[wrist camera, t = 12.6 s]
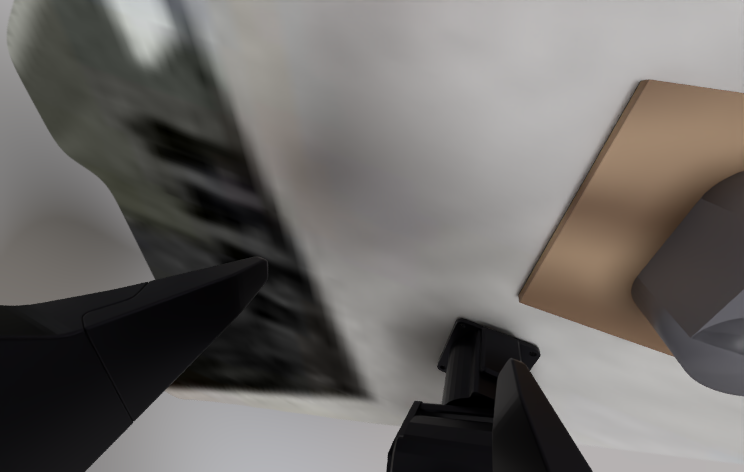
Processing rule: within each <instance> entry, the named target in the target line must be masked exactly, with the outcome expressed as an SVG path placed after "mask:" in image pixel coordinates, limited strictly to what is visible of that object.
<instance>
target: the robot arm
mask: <svg viewBox="0 0 744 472" xmlns="http://www.w3.org/2000/svg"><path fill="white" fill-rule="evenodd" d="M267 279H268V263H267V260H265V259H263V258H261V257H252V258H247V259H243V260H239V261H235V262H230V263H226V264H222V265H218V266H213V267H209V268H205V269H200V270H196V271H192V272H188V273H183V274H179V275H175V276H170V277H166V278H162V279H158V280H153V281H150V282H149V283H148V282H145V283H141V284H136V285H132V286H127V287H123V288H118V289H114V290H109V291H103V292H98V293H93V294H88V295H82V296H77V297H71V298H66V299H60V300H55V301H50V302H45V303H38V304H32V305H21V306H3V305H0V472H85V471H86V470H87V469H88V468H89V467H90V466H91V465H92V464H93V463H94V462H95V461H96V460H97V459H98V458H99V457H100V456H101V455H102V454H103V453H104V452H105V451H106V450H107V449H108V448H109V447H110V446H111V445H112V444H113V443H114V442H115V441H116V440H117V439H118V438H119V437H120V436H121V434H123V433H124V432H125V431H126V430H127V428H128V427H129V426H130V425H131V424H132V423H133V421H135V420H136V419H137V418H138V417H139V416H140V415H141V414H142V413H143V412H144V411H145V410H146V409H147V408H148V407H149V406H150V405H151V404H152V403H153V402H154V401H155V400H156V399H157V398H158V397H159V396H160V395H161V394H162V392H164V391H165V390H166V389H167V388H168V387H169V386H170V385H171V384H172V383H173V382H174V381H175V379H176V378H177V377H178V376H179V375H180V374H181V373H182V372H183V371H184V370H185V369H186V368H187V367H188V366H189V365H190V364H191V363H192V362H193V361H194V360H195V359H196V358H197V357H198V356H199V355H200V354H201V353H202V352H203V351H204V350H205V349H206V348H207V347H208V346H209V345H210V344H211V343H212V342H213V341H214V340H215V339H216V338H217V337H218V336H219V335H220V334H221V333H222V332H223V331H224V330H225V329H226V328H227V327H228V326H229V325H230V324H231V323H232V322H233V321H234V320H235V319H236V317H237V316H238V315H239V314H240V313H241V312H242V311H243V310H244V309H245V307H246V306H247V305H248V304H249V303H250V301H251V300H252V299H253V298H254V296H255V295H256V294H257V293H258V291H259V290H260V289H261V288H262V286H263V285H264V284H265V283H266V281H267ZM460 324H463V325H464V326H462V325H460ZM532 352H534V353H532ZM539 357H540V351H539V348H538V347H536V346H534V345H531V344H529V343H526V342H523V341H521V340H518V339H516V338H513V337H510V336H508V335H505V334H502V333H500V332H497V331H495V330H492V329H489V328H487V327H484V326H482V325H479V324H476V323H474V322H471V321H468V320H466V319H462V318H460V319H458V320H457V321H456V323H455V325H454V328H453V330H452V332H451V334H450V336H449V339H448V341H447V343H446V345H445V348H444V350H443V352H442V354H441V357H440V359H439V361H438V365H437V367H438V369H439V370H441V371H443V372H445V373H446V378H445V385H444V392H443V398H442V404H430V403H423V402H422V401H414V403H413V405H412V407H411V409H410V411H409V412H408V414H407V416H406V418H405V420H404V422H403V424H402V426H401V428H400V430H399V432H398V433H397V435H396V437H395V439H394V441H393V443H392V446H391V448H390V450H389V452H388V462H387V472H592V470H591V468H590V467H589V465H588V463H587V462H586V460H585V459H584V457H583V455H582V454H581V452H580V451H579V449H578V448H577V446H576V444H575V443H574V441H573V439H572V438H571V436H570V435H569V433H568V431H567V430H566V428H565V427H564V425H563V423H562V422H561V420H560V419H559V417H558V415H557V414H556V412H555V411H554V409H553V407H552V406H551V404H550V403H549V401H548V399H547V398H546V396H545V395H544V393H543V391H542V390H541V388H540V387H539V385H538V383H537V382H536V380H535V379H534V377H533V375H532V374H531V372H530V370H531V368H532V367H533V365H534V364H535V363H536V361H537V360H538V359H539Z"/></svg>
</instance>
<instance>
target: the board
mask: <svg viewBox="0 0 744 472" xmlns="http://www.w3.org/2000/svg"><path fill="white" fill-rule="evenodd" d="M742 171H744V93H738V92H731V91H724V90H718V89H711V88H704V87H697V86H690V85H683V84H676V83H670V82H663V81H656V80H643V81H641V82H640V84H639V85H638V87H637V89H636V91H635V92H634V94H633V96H632V98H631V99H630V101H629V103H628V105H627V106H626V108H625V110H624V112H623V113H622V115H621V117H620V119H619V120H618V122H617V124H616V126H615V127H614V129H613V131H612V133H611V134H610V136H609V138H608V140H607V141H606V143H605V145H604V147H603V148H602V150H601V152H600V154H599V155H598V157H597V159H596V161H595V162H594V164H593V166H592V168H591V169H590V171H589V173H588V175H587V176H586V178H585V180H584V182H583V183H582V185H581V187H580V189H579V190H578V192H577V194H576V196H575V197H574V199H573V201H572V203H571V204H570V206H569V208H568V210H567V211H566V213H565V215H564V217H563V218H562V220H561V222H560V224H559V225H558V227H557V229H556V231H555V232H554V234H553V236H552V238H551V239H550V241H549V243H548V245H547V246H546V248H545V250H544V252H543V253H542V255H541V257H540V259H539V260H538V262H537V264H536V266H535V267H534V269H533V271H532V273H531V274H530V276H529V278H528V280H527V281H526V283H525V285H524V287H523V288H522V290H521V292H520V294H519V295H518V297H519V302H520V303H523V304H525V305H528V306H531V307H534V308H537V309H540V310H543V311H545V312H548V313H551V314H554V315H557V316H560V317H562V318H565V319H568V320H571V321H574V322H577V323H580V324H582V325H585V326H588V327H591V328H594V329H597V330H600V331H602V332H605V333H608V334H611V335H614V336H617V337H620V338H622V339H625V340H628V341H631V342H634V343H637V344H639V345H642V346H645V347H648V348H651V349H654V350H657V351H659V352H662V353H665V354H668V355H671V356H674V355H673V354H672V352H671V351H670V350H669V348H668V347H667V346H666V344H665V343H664V342H663V340H662V339H661V338H660V336H659V335H658V333H657V332H656V331H655V329H654V328H653V327H652V325H651V324H650V323H649V321H648V320H647V319H646V317H645V316H644V315H643V313H642V312H641V311H640V309H639V308H638V306H637V305H636V304H635V302H634V300H633V298H632V294H631V288H632V284H633V282H634V280H635V279H636V277H637V276H638V275H639V273H640V272H641V271H642V270H643V269H644V267H645V266H646V265H647V264H648V262H649V261H650V260H651V259H652V257H653V256H654V255H655V254H656V253H657V251H658V250H659V249H660V248H661V246H662V245H663V244H664V243H665V241H666V240H667V239H668V238H669V237H670V235H671V234H672V233H673V232H674V230H675V229H676V228H677V227H678V225H679V224H680V223H681V222H682V221H683V219H684V218H685V217H686V216H687V214H688V213H689V212H690V211H691V209H692V208H693V207H694V206H695V205H696V203H697V202H698V201H699V200H700V198H701V197H702V196H703V195H704V194H705V193H706V192H707V191H708V190H709V189H711V188H712V187H713V186H715V185H716V184H717V183H719V182H721V181H722V180H724V179H726V178H728V177H730V176H732V175H734V174H736V173H739V172H742ZM674 357H675V356H674Z"/></svg>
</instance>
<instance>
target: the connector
mask: <svg viewBox="0 0 744 472" xmlns="http://www.w3.org/2000/svg"><path fill="white" fill-rule="evenodd" d="M631 294H632V298H633V300H634V302H635V304H636V305H637V306H638V308H639V309H640V311H641V312H642V313H643V315H644V316H645V317H646V319H647V320H648V321H649V323H650V324H651V325H652V327H653V328H654V329H655V331H656V332H657V333H658V335H659V336H660V338H661V339H662V340H663V342H664V343H665V344H666V346H667V347H668V348H669V350H670V351H671V352H672V354H673V355H674V356H675V358H676V359H677V361H678V362H679V363H680V365H681V366H682V367H683V369H684V370H685V371H686V372H687V374H688V375H689V376H690V377H692V378H693V379H694V380H695V381H697V382H698V383H700V384H702V385H704V386H706V387H708V388H711V389H713V390H716V391H719V392H723V393H727V394H732V395H738V396H744V171H742V172H739V173H736V174H734V175H732V176H730V177H728V178H726V179H724V180H722V181H721V182H719V183H717V184H716V185H715V186H713V187H712V188H711V189H709V190H708V191H707V192H706V193H705V194H704V195H703V196H702V197H701V198H700V200H699V201H698V202H697V203H696V205H695V206H694V207H693V208H692V209H691V211H690V212H689V213H688V214H687V216H686V217H685V218H684V219H683V221H682V222H681V223H680V224H679V225H678V227H677V228H676V229H675V230H674V232H673V233H672V234H671V235H670V237H669V238H668V239H667V240H666V241H665V243H664V244H663V245H662V246H661V248H660V249H659V250H658V251H657V253H656V254H655V255H654V256H653V257H652V259H651V260H650V261H649V262H648V264H647V265H646V266H645V267H644V269H643V270H642V271H641V272H640V273H639V275H638V276H637V277H636V279H635V280H634V282H633V284H632V288H631Z"/></svg>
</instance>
